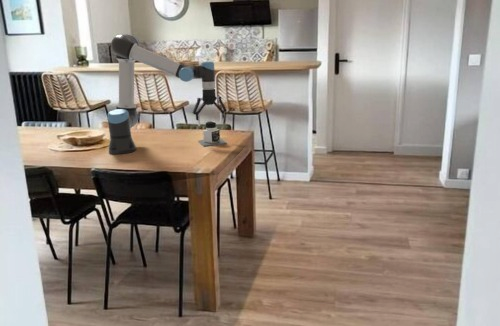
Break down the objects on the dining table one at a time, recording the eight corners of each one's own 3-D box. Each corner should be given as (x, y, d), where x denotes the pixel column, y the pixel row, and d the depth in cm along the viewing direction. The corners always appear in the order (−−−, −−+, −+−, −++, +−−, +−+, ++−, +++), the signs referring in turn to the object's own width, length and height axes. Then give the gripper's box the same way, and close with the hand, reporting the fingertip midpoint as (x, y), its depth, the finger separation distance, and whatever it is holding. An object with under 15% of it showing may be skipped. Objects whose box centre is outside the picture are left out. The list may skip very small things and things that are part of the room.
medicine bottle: (212, 143, 266) (211, 123, 263) (203, 142, 270) (202, 122, 267) (220, 140, 271) (219, 121, 268) (211, 139, 276) (210, 120, 272)
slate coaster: (203, 146, 263) (203, 145, 262) (198, 141, 275) (198, 140, 275) (226, 143, 267) (226, 142, 267) (220, 139, 280) (220, 137, 279)
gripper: (189, 90, 255) (191, 127, 261) (231, 88, 263) (232, 124, 269) (186, 89, 262) (188, 125, 268) (227, 86, 270) (228, 121, 275)
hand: (210, 124), depth 268 cm, fingers open, 13 cm apart
